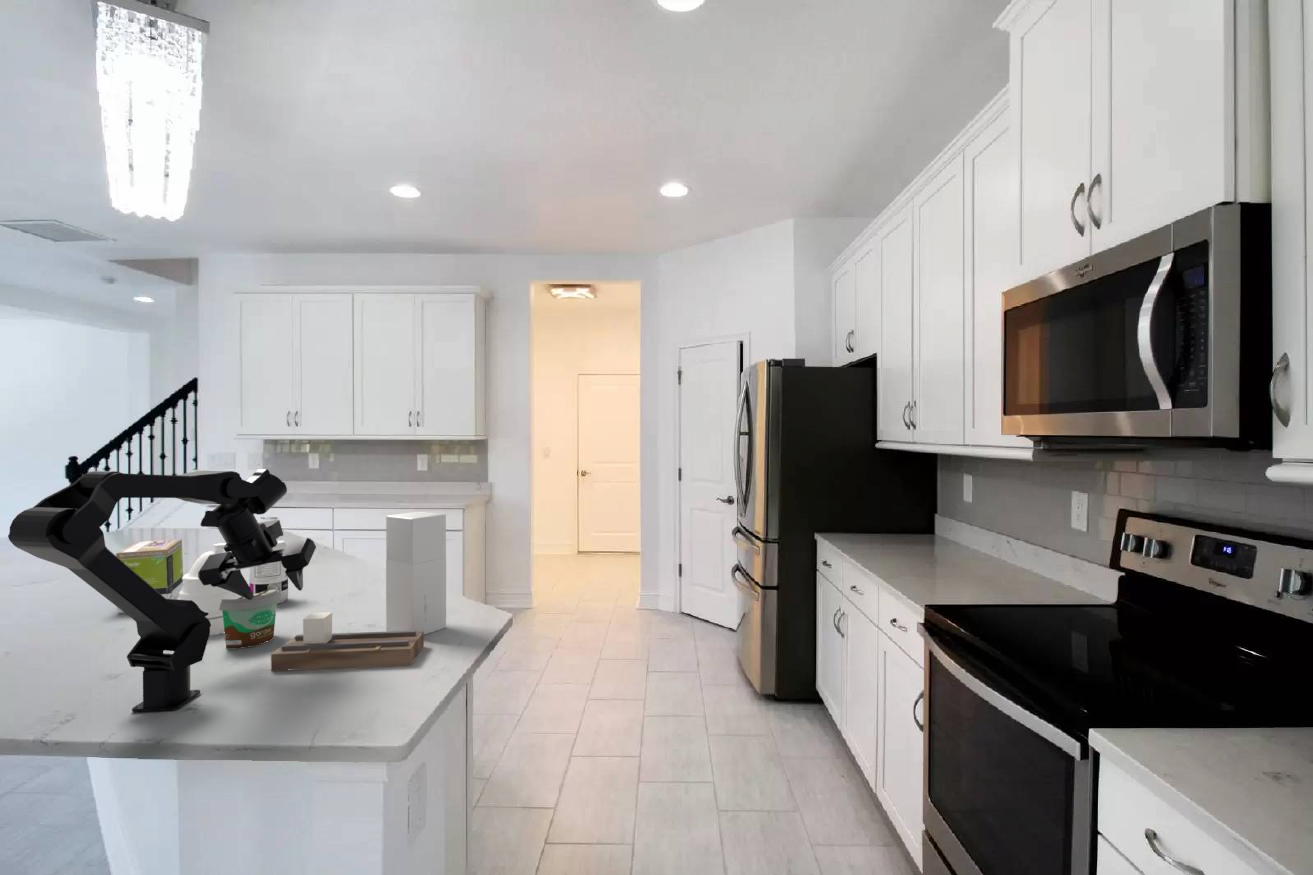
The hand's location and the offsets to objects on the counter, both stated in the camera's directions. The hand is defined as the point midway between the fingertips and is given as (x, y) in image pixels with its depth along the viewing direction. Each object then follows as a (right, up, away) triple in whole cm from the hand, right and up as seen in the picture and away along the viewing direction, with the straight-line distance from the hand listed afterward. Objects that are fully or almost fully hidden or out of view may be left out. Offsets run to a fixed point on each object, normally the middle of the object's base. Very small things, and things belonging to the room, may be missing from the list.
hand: (276, 593), depth 121 cm
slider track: (+15, -12, -2) cm, 20 cm away
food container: (-8, -12, +7) cm, 16 cm away
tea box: (-52, -11, +35) cm, 63 cm away
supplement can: (-24, -11, +36) cm, 45 cm away
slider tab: (+9, -8, -3) cm, 13 cm away
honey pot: (-24, -12, +16) cm, 31 cm away
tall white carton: (+21, -12, +15) cm, 29 cm away
